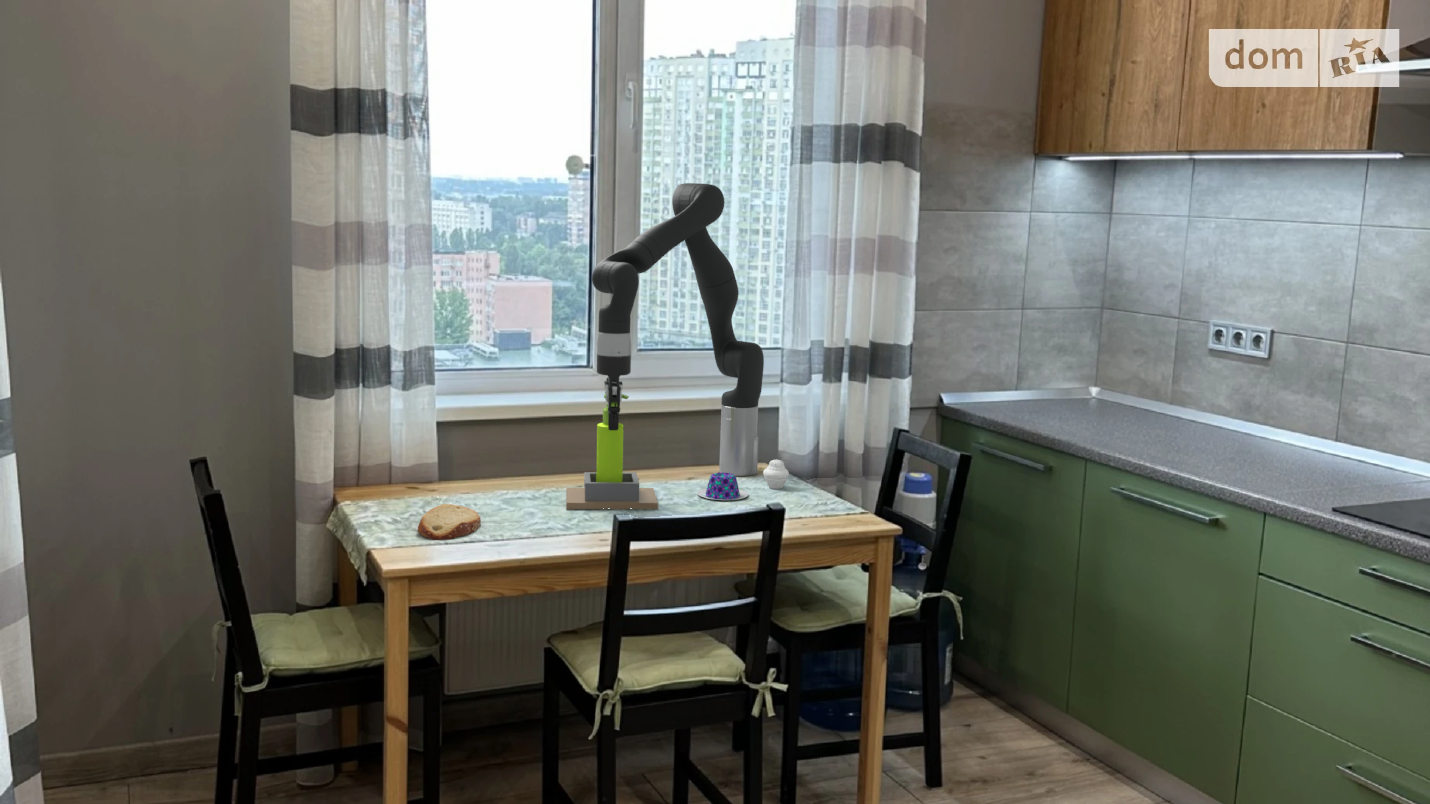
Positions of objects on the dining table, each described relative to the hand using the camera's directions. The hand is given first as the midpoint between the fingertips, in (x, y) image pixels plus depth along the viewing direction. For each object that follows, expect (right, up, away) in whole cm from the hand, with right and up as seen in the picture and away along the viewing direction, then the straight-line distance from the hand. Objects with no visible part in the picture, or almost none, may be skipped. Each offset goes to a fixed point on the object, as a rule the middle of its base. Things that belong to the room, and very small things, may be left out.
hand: (612, 427), depth 275 cm
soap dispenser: (0, -13, +2) cm, 13 cm away
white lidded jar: (+37, -15, +21) cm, 46 cm away
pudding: (+25, -17, +12) cm, 32 cm away
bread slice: (-33, -20, -21) cm, 44 cm away
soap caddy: (-1, -17, +3) cm, 17 cm away
